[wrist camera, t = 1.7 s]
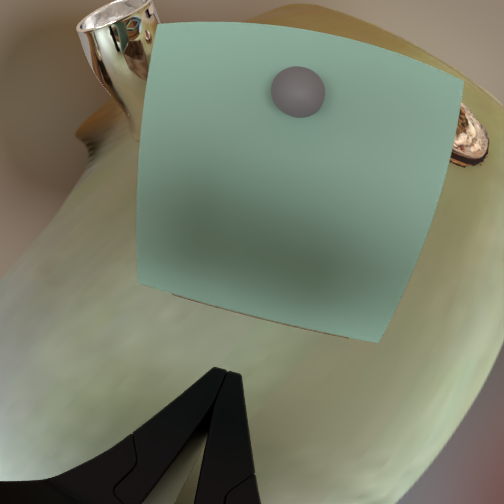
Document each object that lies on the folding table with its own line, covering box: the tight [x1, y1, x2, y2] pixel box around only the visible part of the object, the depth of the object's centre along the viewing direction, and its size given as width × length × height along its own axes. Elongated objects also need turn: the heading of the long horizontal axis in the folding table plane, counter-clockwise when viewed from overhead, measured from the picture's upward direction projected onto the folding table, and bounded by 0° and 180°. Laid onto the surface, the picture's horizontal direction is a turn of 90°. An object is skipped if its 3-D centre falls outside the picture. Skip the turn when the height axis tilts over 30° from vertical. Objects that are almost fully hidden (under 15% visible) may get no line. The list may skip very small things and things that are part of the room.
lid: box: [136, 22, 464, 343], centre depth 12 cm, size 14×14×2 cm
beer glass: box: [76, 0, 160, 142], centre depth 22 cm, size 7×7×15 cm
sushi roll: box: [449, 102, 489, 167], centre depth 27 cm, size 15×15×4 cm
